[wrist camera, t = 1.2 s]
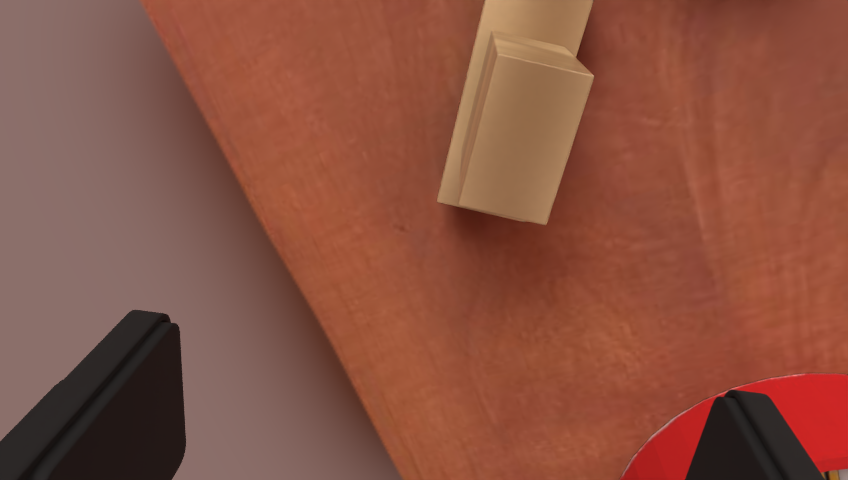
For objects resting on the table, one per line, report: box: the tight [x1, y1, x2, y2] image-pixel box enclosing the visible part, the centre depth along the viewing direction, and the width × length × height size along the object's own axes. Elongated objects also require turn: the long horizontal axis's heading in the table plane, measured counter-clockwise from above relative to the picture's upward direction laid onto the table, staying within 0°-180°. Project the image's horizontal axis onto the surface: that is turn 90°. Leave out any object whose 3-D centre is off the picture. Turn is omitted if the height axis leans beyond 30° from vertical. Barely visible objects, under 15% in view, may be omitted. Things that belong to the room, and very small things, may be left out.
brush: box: [437, 0, 594, 225], centre depth 24 cm, size 4×10×9 cm, turn 168°
